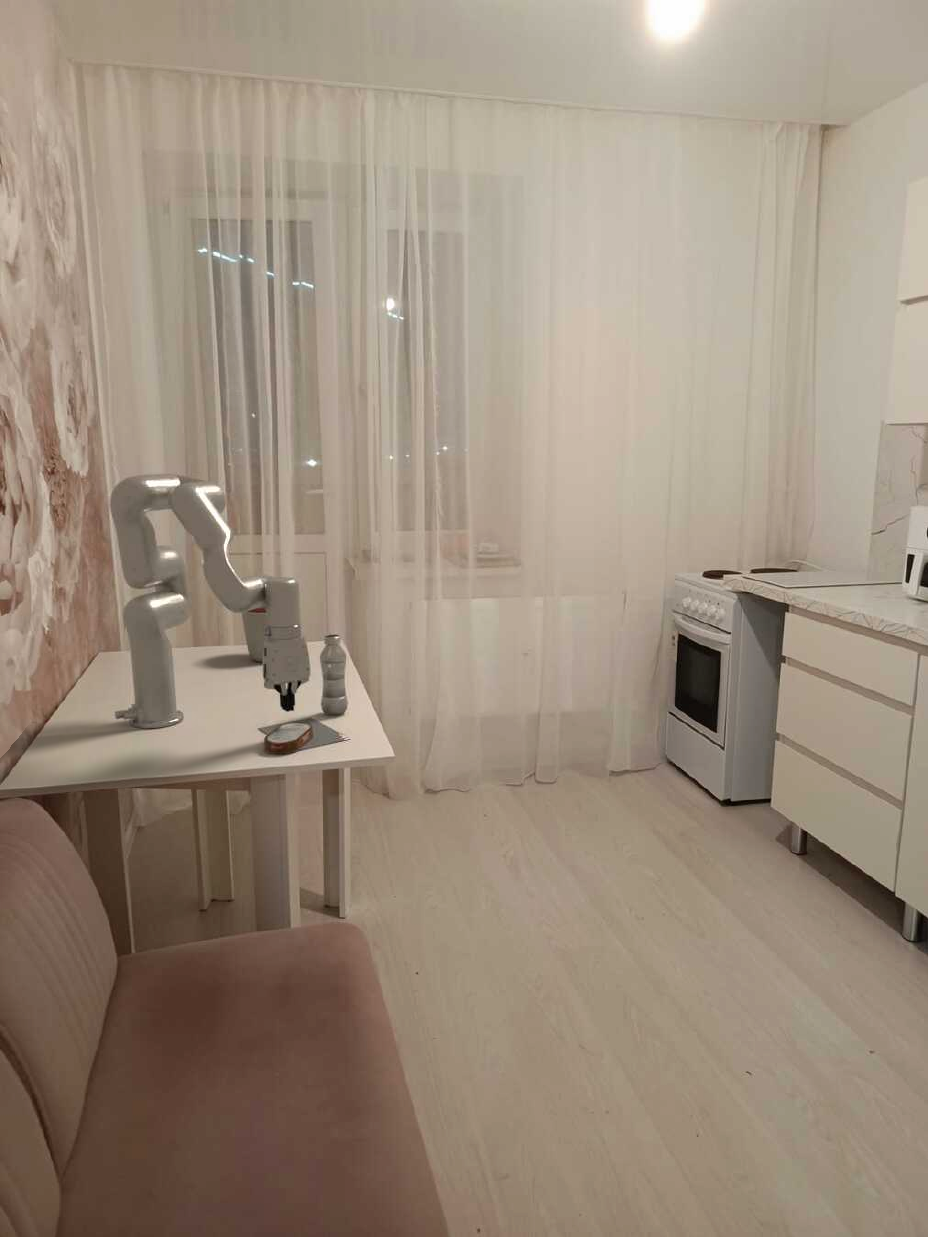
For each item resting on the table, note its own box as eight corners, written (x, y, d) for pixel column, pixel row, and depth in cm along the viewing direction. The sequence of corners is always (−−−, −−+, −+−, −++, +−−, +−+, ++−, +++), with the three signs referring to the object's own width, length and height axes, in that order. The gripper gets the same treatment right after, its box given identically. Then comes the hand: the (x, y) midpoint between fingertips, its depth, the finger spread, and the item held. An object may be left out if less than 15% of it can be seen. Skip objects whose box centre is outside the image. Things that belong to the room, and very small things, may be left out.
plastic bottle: (318, 711, 227) (315, 634, 223) (345, 708, 229) (342, 632, 225) (324, 718, 221) (321, 639, 217) (351, 715, 223) (348, 637, 219)
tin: (257, 752, 196) (293, 757, 195) (258, 739, 196) (294, 744, 194) (284, 731, 211) (318, 735, 209) (285, 718, 210) (319, 723, 208)
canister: (302, 663, 276) (299, 596, 272) (241, 667, 272) (237, 599, 267) (299, 650, 293) (296, 587, 289) (242, 654, 289) (238, 589, 285)
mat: (294, 752, 197) (294, 751, 197) (258, 729, 213) (258, 728, 213) (350, 739, 205) (350, 738, 205) (311, 718, 221) (311, 717, 221)
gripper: (259, 639, 195) (264, 719, 199) (321, 630, 204) (324, 708, 207) (246, 633, 201) (250, 711, 205) (307, 625, 210) (310, 700, 213)
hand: (288, 709), depth 206 cm, fingers closed
